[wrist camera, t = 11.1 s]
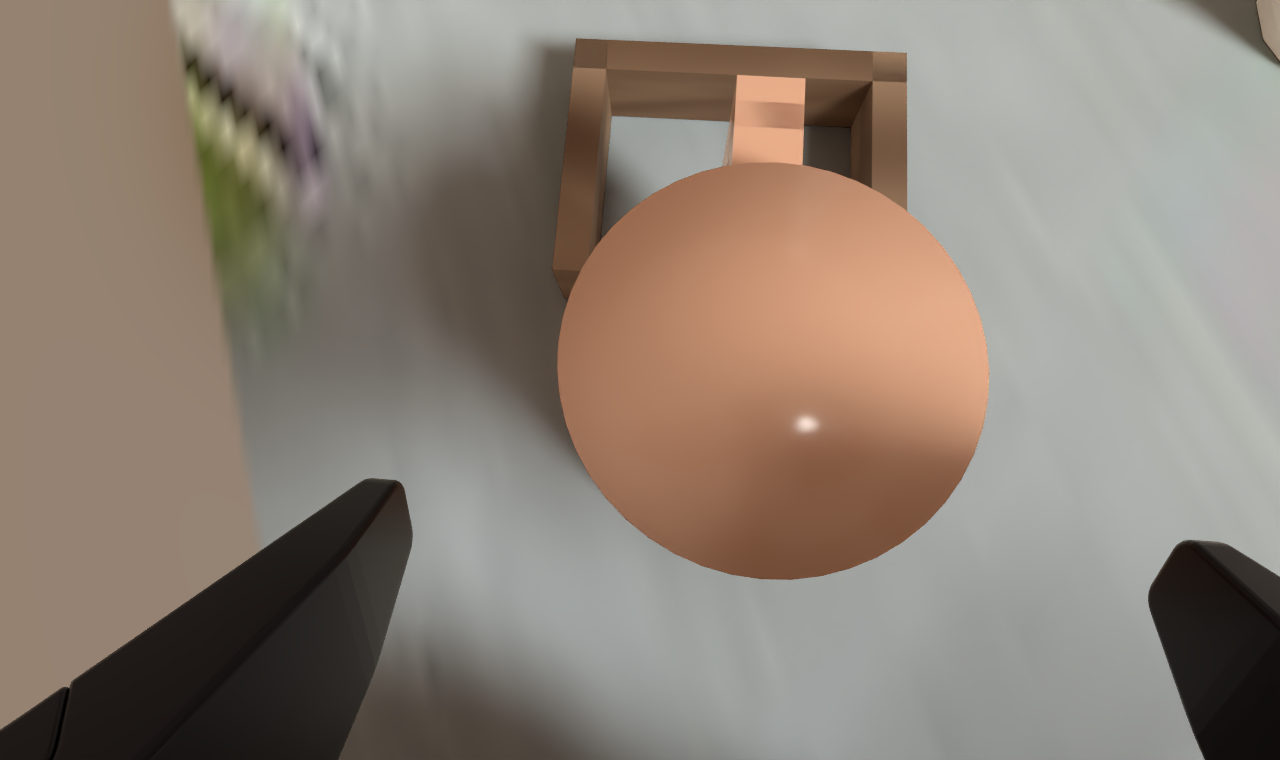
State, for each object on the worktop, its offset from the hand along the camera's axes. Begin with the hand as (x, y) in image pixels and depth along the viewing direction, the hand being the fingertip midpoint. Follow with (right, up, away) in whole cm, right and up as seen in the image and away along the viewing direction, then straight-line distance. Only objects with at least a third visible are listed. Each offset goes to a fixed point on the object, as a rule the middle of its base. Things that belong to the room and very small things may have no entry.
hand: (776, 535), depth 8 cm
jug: (+1, +1, +14) cm, 14 cm away
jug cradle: (+1, +7, +15) cm, 17 cm away
